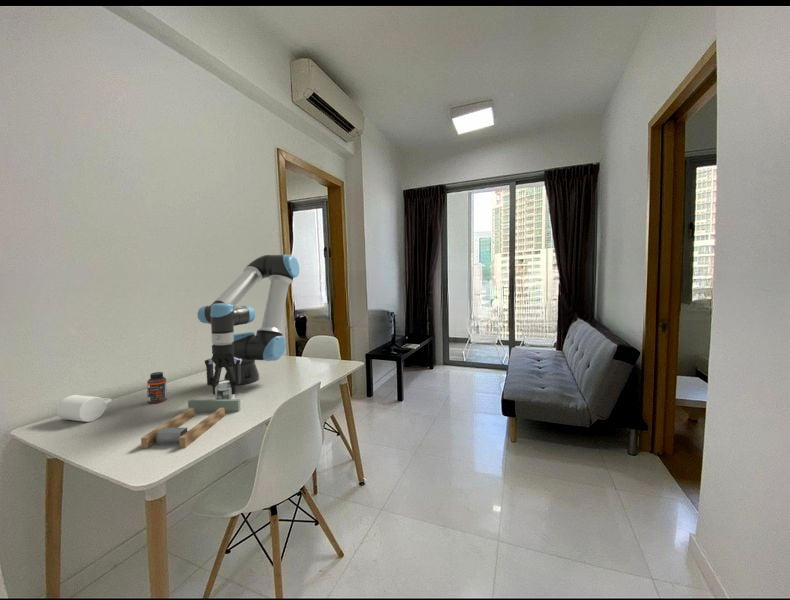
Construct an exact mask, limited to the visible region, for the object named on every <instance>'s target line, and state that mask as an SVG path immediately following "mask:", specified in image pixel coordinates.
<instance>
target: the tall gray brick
mask: <svg viewBox="0 0 790 600" xmlns="http://www.w3.org/2000/svg"><path fill="white" fill-rule="evenodd" d="M186 432H188V427H178V428H162V429H161V430H159V431H158V432H156V443H155V445H180V444H179V437H181V436H182V435H183V434H185V433H186Z"/></svg>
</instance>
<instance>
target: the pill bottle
mask: <svg viewBox="0 0 790 600" xmlns="http://www.w3.org/2000/svg"><path fill="white" fill-rule="evenodd" d="M218 385H219V388H218V390H217V391H218V399H229V387H230V386H231V385H230V382H229V381H224V380H223V381H219V384H218Z"/></svg>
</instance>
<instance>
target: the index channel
mask: <svg viewBox="0 0 790 600" xmlns="http://www.w3.org/2000/svg"><path fill="white" fill-rule="evenodd" d="M194 417H195V412H194V408H189V409H188V408H187V409H186V410H184V411H182V412H181V413H180V414H177V415H175V417H172V418H171V419H169V420H167V421H166V422H164V423H163V424H161V425H160V426H157V428H155V429H154V430H152V431H150V432H148V433H146V434H145V435H144V436H142V437H141V438H140V442H141V443H140V445H141V449H148V448H150V447H151V446H153V445H154V444H156V432H158V431H159V430H161V429H162V428H180V427H181V426H183V425H184V424H185V423H187V422H188V421H189V420H191V419H193V418H194ZM224 417H226V412H225V408H219V409H218V410H216V411H215V412H211V414H209V415H208V416H207V417H205V418H204V419H203V420H201V421H200V422H198V423H197V424H196V425H194V426H193V427H192V428H191V429H189V430H187V432H186V433H185V434H183V435H182V436H181V437H179V444H178V445H179V449H186V448H187V447H188V446H191V444H193V442H195V441H196V440H197V439H198V438H200V437H201V436H202V435H203V434H204V433H206V432H207V431H208V430H210V428H212V427H214V425H216V424H217V423H218V422H219V421H221V420H222V419H223V418H224Z"/></svg>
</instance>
